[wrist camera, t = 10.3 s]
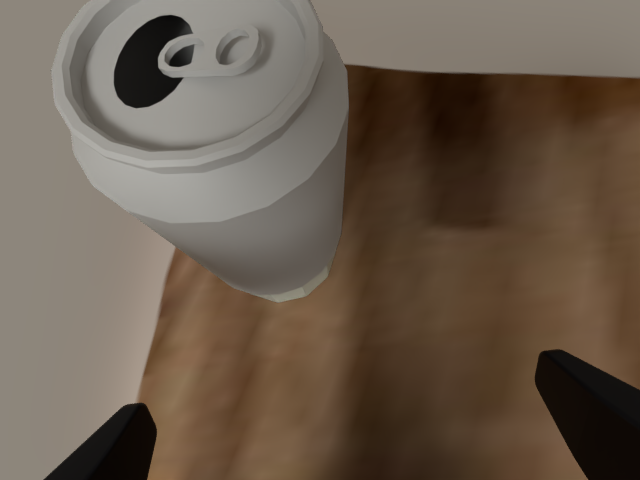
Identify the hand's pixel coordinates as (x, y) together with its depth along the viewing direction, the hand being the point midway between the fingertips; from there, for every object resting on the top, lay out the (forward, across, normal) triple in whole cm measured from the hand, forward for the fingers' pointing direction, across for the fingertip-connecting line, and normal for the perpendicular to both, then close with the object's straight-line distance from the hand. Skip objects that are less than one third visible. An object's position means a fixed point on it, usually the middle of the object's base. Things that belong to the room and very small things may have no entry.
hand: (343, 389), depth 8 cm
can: (+12, +3, +1) cm, 12 cm away
